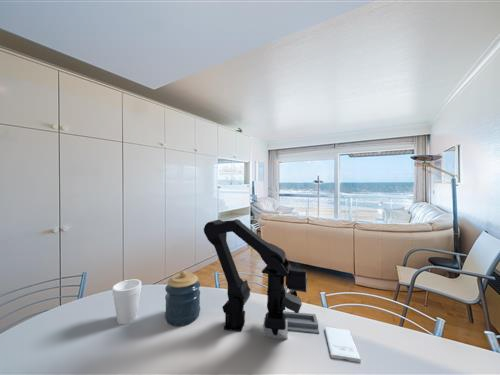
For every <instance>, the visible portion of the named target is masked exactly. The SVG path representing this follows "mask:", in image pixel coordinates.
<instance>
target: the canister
mask: <svg viewBox="0 0 500 375" xmlns="http://www.w3.org/2000/svg"><path fill="white" fill-rule="evenodd" d="M200 287H201V282H200V281H199V276H197V275H196V274H194V273H192V272H187V271H186V270H181V271H180V272H178V273H176V274H174V275H172V277H170V278H169V279H168V281H167V285H166V286H165V289H164V290H165V292H166V294H165V298H164V299H165V312H164V317H165V320H166V323H167V324H168V325H170V326H174V327H183V326H186V325H189V324H191V323H193V322H194V321H196V320H197V319H198V318H199V316H200V313H201V305H200V302H201V301H200V300H201V299H200V298H201V297H200V296H201V290H200Z"/></svg>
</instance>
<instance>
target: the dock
mask: <svg viewBox="0 0 500 375" xmlns="http://www.w3.org/2000/svg"><path fill="white" fill-rule="evenodd" d="M283 314H284V315H285V320H287V322H288V331H289V332H290V331H292V332H300V333H310V334H311V333H312V334H320V330H319V329H320V328H319V320H318V318H317V315H316V314H315V313H306V312H299V313H295V312H294V311H286V310H284V311H283Z"/></svg>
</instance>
